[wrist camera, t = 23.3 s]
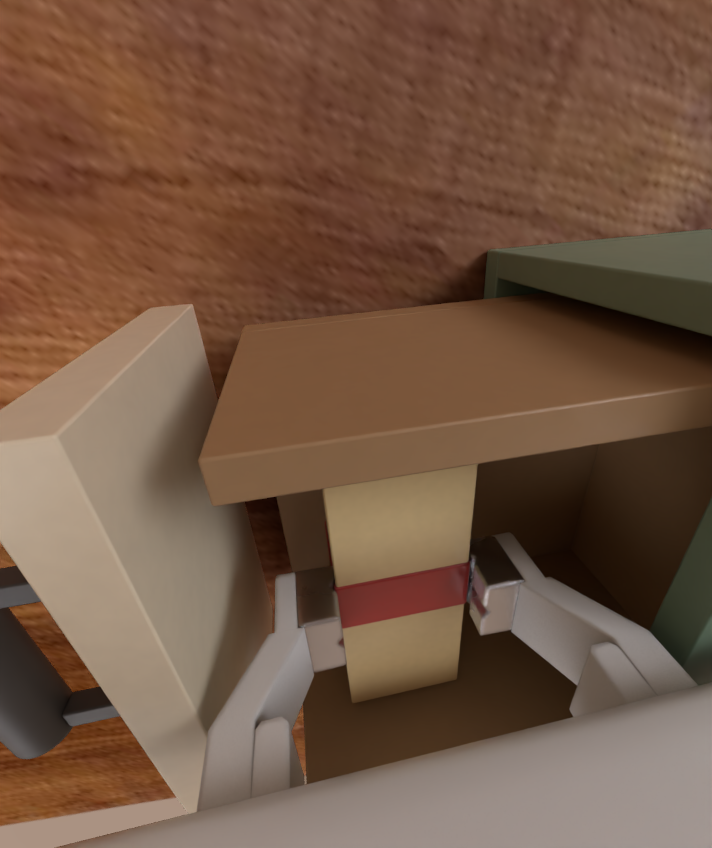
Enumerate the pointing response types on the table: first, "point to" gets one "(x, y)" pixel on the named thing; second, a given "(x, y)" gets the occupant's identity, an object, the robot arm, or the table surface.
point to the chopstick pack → (401, 576)
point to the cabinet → (659, 301)
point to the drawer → (304, 510)
